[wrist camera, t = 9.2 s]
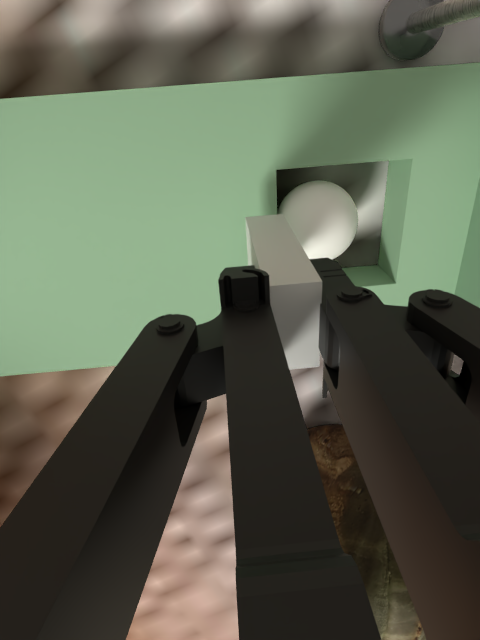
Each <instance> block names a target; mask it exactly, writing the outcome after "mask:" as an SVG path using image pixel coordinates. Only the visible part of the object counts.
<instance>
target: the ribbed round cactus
mask: <svg viewBox="0 0 480 640" xmlns="http://www.w3.org/2000/svg"><path fill="white" fill-rule="evenodd" d="M307 432H308V435H309V439H310V442H311V446H312V449H313V453H314V456H315V459H316V463H317V466H318V470H319V473H320V477H321V480H322V483H323V487H324V490H325V494H326V497H327V501H328V504H329V507H330V511H331V514H332V518H333V521H334V525H335V528H336V532H337V535H338V538H339V541H340V544H341V547H342V549H343V551H344V553H345V554H348V555H351V556H352V558H353V559H354V561H355V563H356V564H357V567H358V569H359V572H360V575H361V577H362V580H363V583H364V586H365V589H366V592H367V595H368V599H369V602H370V605H371V608H372V611H373V614H374V618H375V621H376V624H377V627H378V630H379V633H380V637H381V640H426V637H425V634H424V631H423V628H422V626H421V623H420V620H419V618H418V615H417V613H416V610H415V608H414V605H413V603H412V600H411V598H410V595H409V592H408V590H407V587H406V585H405V582H404V580H403V577H402V575H401V572H400V570H399V567H398V565H397V562H396V559H395V557H394V554H393V552H392V549H391V547H390V544H389V542H388V539H387V537H386V534H385V531H384V529H383V526H382V524H381V521H380V519H379V516H378V514H377V511H376V509H375V506H374V504H373V501H372V498H371V496H370V493H369V491H368V488H367V486H366V483H365V481H364V478H363V476H362V473H361V470H360V468H359V465H358V463H357V460H356V458H355V455H354V453H353V450H352V448H351V445H350V442H349V440H348V437H347V435H346V432H345V430H344V427H343V425H339V424H334V425H322V426H318V427H314V428H311V429H309V430H307Z"/></svg>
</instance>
